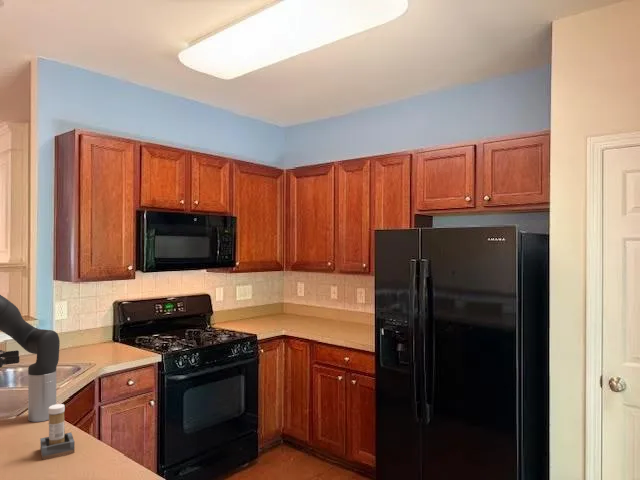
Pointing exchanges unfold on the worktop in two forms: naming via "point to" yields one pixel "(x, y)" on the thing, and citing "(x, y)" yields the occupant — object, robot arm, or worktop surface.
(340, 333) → the worktop surface
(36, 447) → the worktop surface
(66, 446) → the socket jig
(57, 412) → the sprinkles bottle
